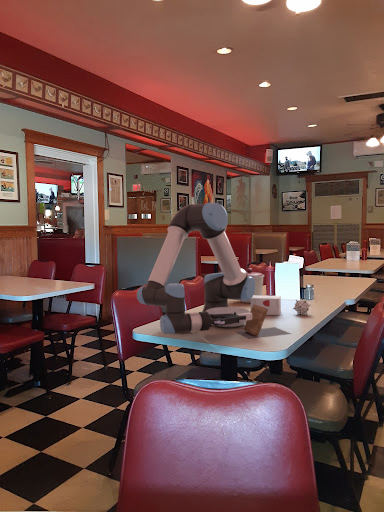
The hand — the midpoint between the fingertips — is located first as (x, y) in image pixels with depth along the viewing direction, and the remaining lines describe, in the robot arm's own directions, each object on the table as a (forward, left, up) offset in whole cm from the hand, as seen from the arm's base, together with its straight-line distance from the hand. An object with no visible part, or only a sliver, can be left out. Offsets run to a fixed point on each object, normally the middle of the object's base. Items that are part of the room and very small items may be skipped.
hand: (251, 316), depth 171 cm
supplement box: (-2, +48, -4) cm, 48 cm away
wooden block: (-1, 0, -7) cm, 7 cm away
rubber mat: (+4, +3, -8) cm, 10 cm away
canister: (-4, +83, -8) cm, 84 cm away
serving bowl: (-11, +17, -8) cm, 22 cm away
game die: (+24, +45, -8) cm, 52 cm away
